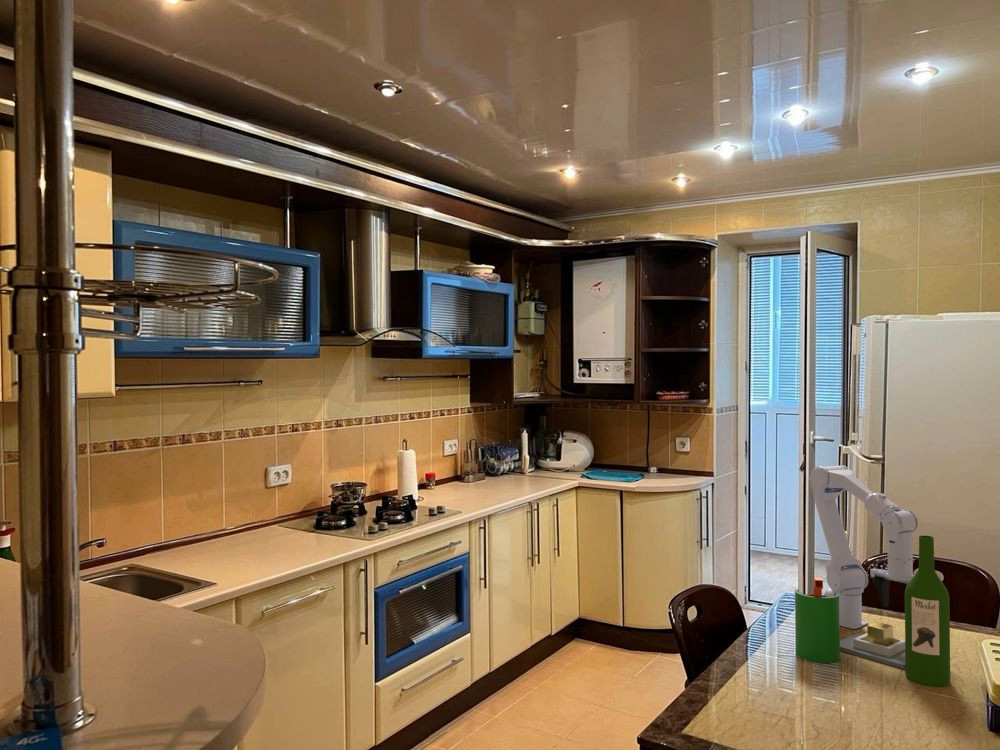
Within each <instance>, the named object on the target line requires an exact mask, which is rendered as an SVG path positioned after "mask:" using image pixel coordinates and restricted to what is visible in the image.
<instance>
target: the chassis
mask: <svg viewBox="0 0 1000 750" xmlns="http://www.w3.org/2000/svg"><path fill="white" fill-rule="evenodd" d="M840 652H844V653H846V654H850V655H854V656H857V657H861V658H863V659H864V658H865V659H867V660H871V661H875V662H878V663H881V664H885V665H887V666H888V665H889V666H892V667H896V668H899V669H902V670H905V639H901V638H897V637H894V636H893V644H892V645H890V646H888V647H886V646H883V645H879V644H875V643H872V642H868V640H867V632H866V633H861V632H857V633H854V634H852V635H850V636H847V637H845V638H843V639H840Z"/></svg>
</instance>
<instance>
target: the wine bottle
mask: <svg viewBox="0 0 1000 750" xmlns="http://www.w3.org/2000/svg"><path fill="white" fill-rule="evenodd" d="M934 542H935V537H933V536H932V535H931V536H930V535H919V536H918V569H917V571H916V573H914V574H913V575H914V576H913V578H912V579H911V580H910V582H909V583H908V584H907V583H906V586H905V588H904V589H905V590H904V638H905V639H904V640H905V669H904V670H905V675H906V679H908V680H909V681H911V682H913V683H916V684H918V685H921V684H922V686H926V685H927V686H926V687H933V686H935V688H936V687H937V688H941V686H943V687H946V686H948V684H949V685H950V682H951V631H950V630H951V619H950V617H951V616H950V613H951V612H950V611H951V610H950V606H951V605H950V603H951V602H950V594H949V590H948V589H947V587H946V586H945V584H944V583H943V581H942V580H941V578H940V576H939V575H938V574H937V572H936V569H935V546H934V545H935V543H934Z"/></svg>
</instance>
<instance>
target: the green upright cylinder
mask: <svg viewBox="0 0 1000 750" xmlns="http://www.w3.org/2000/svg"><path fill="white" fill-rule="evenodd" d="M812 583H813V588H812V589H813V592H812V593H806V594H803V593H802V592H800V589H799V588H798V589H797V588H796V589H795V590H794V615H795V616H794V619H795V620H794V621H795V624H794V626H795V628H794V630H795V633H794V635H795V637H794V638H795V655H796V656H797V657H798V656H799V657H798V658H800V659H802V658H803V659H802V660H805V661H808V662H814V663H819V664H820V663H821V664H831V663H833V664H834V663H836V662H839V661H841V660H840V659H841V651H840V640H841V637H840V636H841V635H840V633H841V631H840V630H841V629H840V627H841V626H840V621H839V593H837V592H834V596H833V597H828V596H824V594H823V589H824V579H823V577H817V576H816V577H815V576H814V577H813V582H812Z"/></svg>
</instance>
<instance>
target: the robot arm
mask: <svg viewBox="0 0 1000 750" xmlns="http://www.w3.org/2000/svg"><path fill="white" fill-rule="evenodd" d="M808 479H809V482H810V486H811V489H812V492H813V499H814V504H815V506H816V510H817V514H818V517H819V521H820V525H821V527H822V530H823V534H824V538H825V542H826V545H827V547H828V551H829V554H830V555H829V556H830V560H829V561H828V562H827V564H826V565H825V570H826V582H827V585H828V588H826V590H825V591H824V594H823V595H824V596H828V597H833V596H834V592H837V593H839V621H840V627H844V628H846V629H847V628H848V629H850V630H851V629H852V630H857V629H859V628H861V627H863V626H867V625H869V622H868V621H866V620H862V619H863V618H862V617H863V616H862V613H863V612H862V611H863V610H862V608H863V605H862V604H863V603H862V602H863V601H862V600H863V599H862V595H863V594H862V593H864V591H865V590H864V589H866V588H867V587H868V584H869V577H868V573H867V571H866V570H865V569H864V568H863V566H862V563H861V560H860V559H858V558H857V557H855V556H853V554H852V552H851V548H850V544H849V541H848V539H847V534H846V532H845V529H844V526H843V521H842V519H841V515H840V512H839V509H838V505H837V502H836V500H837V498H838V497H839V496H840V495H841V494H842V493H843V492H844V491H846V492H849V494H851V495H853V497H856V498H857V499H858V500H860V501H861V502H863V503H864V508H865V510H866V511H868V512H869V513H870V514H872V516H874V517H875V518H876V519H877V520H879V522H881V525H882V528H883V529H884V532H885V538H886V539H887V569H879V568H871V569H870V577H871V578H873V579H872V584H873V586H874V587H875V589H876V591H877V593H878V596H879V599H880V602H881V607H882V608H887V607H888V608H889V606H890V587H891V586H890V585H891V581H892V582H898V583H903V584H906V585H907V584H908V583H909V582H910V580H911V579H912V578H913V576H914V575H915V574H914V573H913V572H914V569H913V568H914V567H913V565H914V562H913V561H914V559H913V558H914V556H913V554H914V553H913V551H914V549H913V547H914V546H913V541H914V540H913V535H914V534H913V533H914V532H915V531H916V530H917V529H918V526H919V521H918V518H917V515H915V513H914V512H913V511H912V510H910V509H903V508H900V506H899V505H898V504H895V503H894V502H892V501H891V500H890V499H889V498H887V495H886V494H885V493H880V492H875V493H874V492H873V491H871V489H869V488H868V487H867V486H866V485H865V484H863V482H862V481H861V480H859V479H858V478H857V476H855V475H854V471H853V470H852V469H849V467H847V466H846V465H843V464H840V465H834V466H830V465H829V466H816V467H814V468H813V469H812V470H811V473H810V475H809V478H808Z"/></svg>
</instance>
